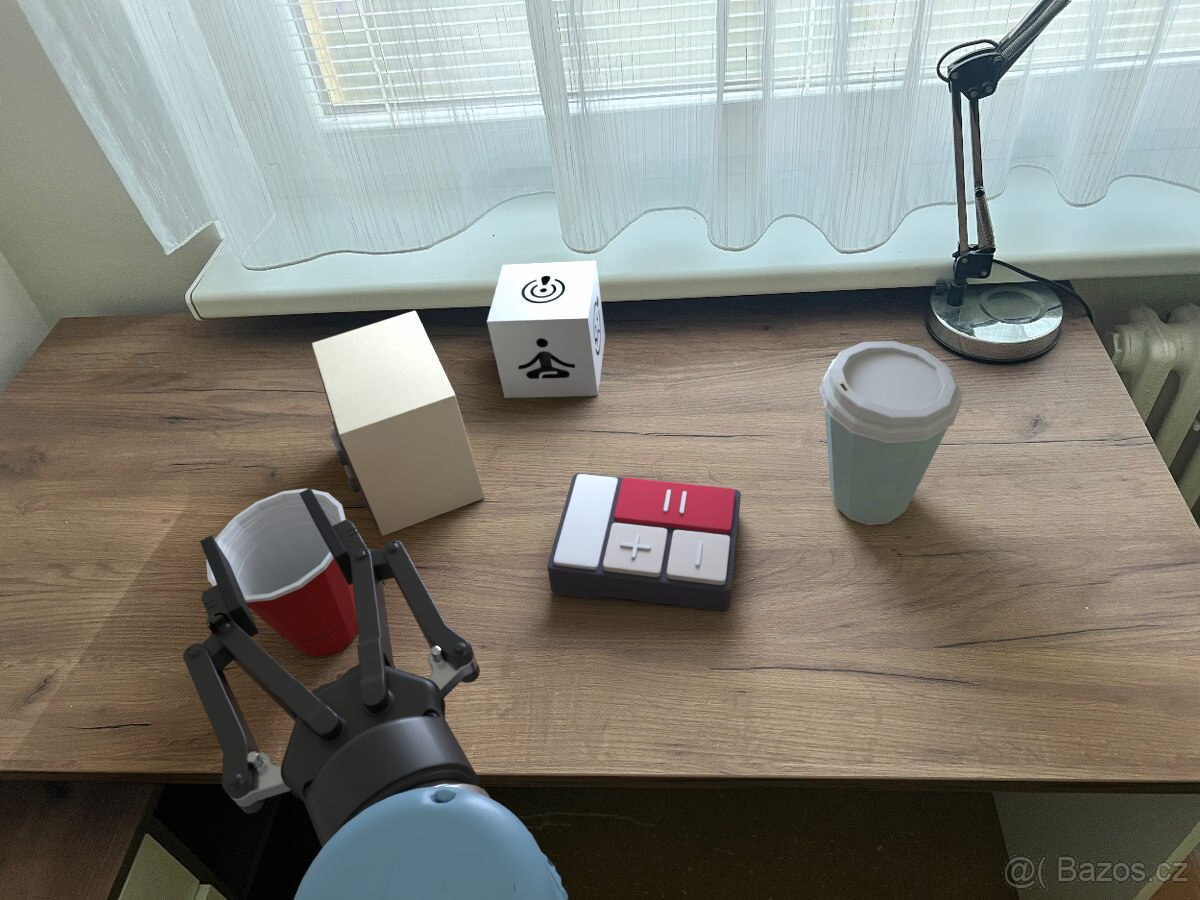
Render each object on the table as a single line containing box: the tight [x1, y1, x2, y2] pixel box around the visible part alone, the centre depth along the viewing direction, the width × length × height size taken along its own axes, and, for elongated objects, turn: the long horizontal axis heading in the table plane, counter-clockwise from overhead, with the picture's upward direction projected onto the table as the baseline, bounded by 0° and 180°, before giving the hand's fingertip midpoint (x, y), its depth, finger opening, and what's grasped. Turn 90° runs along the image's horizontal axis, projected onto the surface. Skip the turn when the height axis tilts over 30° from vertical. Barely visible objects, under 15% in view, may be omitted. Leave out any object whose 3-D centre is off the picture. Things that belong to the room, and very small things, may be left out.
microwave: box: [311, 310, 485, 537], centre depth 82 cm, size 11×14×13 cm
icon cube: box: [486, 260, 606, 399], centre depth 92 cm, size 10×10×10 cm
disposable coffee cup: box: [818, 340, 963, 526], centre depth 72 cm, size 11×11×15 cm
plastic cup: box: [205, 488, 358, 658], centre depth 70 cm, size 11×11×12 cm
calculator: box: [547, 472, 742, 612], centre depth 75 cm, size 11×4×15 cm
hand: (264, 528), depth 55 cm, fingers open, 6 cm apart
